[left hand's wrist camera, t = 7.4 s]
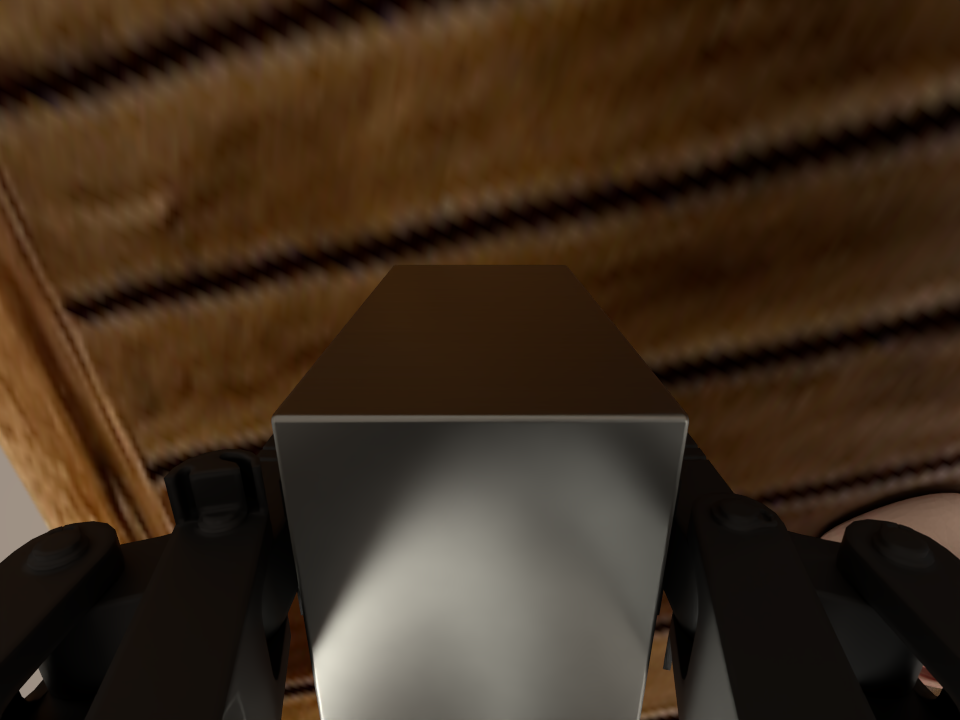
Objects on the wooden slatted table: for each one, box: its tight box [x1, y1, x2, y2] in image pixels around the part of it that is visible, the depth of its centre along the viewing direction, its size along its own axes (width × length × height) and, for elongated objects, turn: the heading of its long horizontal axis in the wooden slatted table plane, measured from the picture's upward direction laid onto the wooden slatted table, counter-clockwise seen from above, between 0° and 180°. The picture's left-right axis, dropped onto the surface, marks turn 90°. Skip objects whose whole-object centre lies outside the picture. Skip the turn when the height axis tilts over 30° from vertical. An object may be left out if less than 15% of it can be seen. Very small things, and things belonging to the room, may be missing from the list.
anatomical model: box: [821, 493, 960, 688], centre depth 27 cm, size 13×4×12 cm
